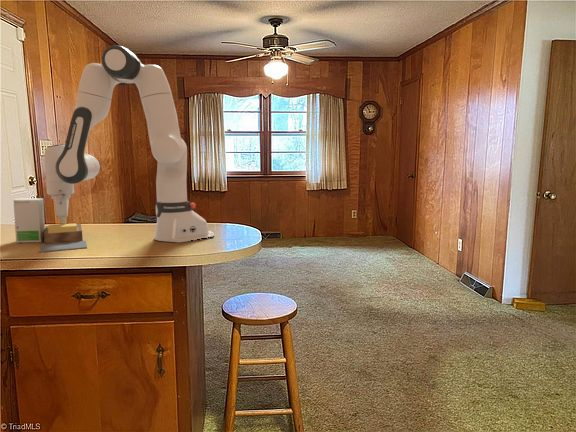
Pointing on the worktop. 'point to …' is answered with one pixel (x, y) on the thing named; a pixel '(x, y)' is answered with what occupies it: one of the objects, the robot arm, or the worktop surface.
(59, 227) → the yellow rectangular block
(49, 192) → the robot arm
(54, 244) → the mat
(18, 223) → the skincare box
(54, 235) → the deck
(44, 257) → the worktop surface
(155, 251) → the worktop surface
